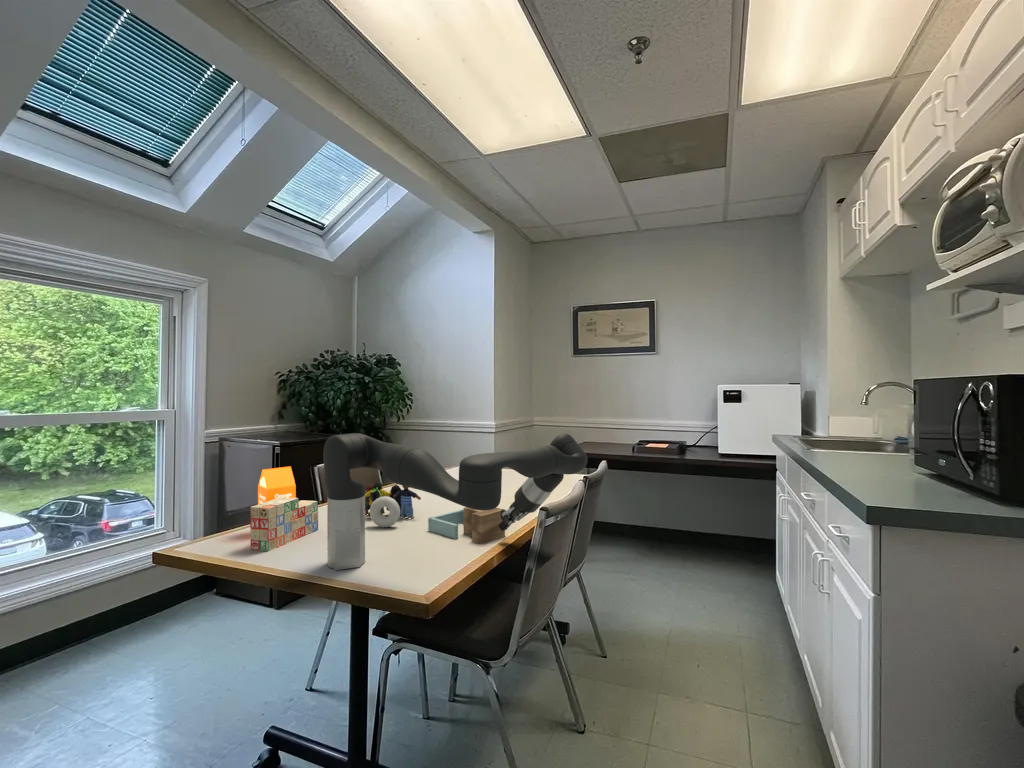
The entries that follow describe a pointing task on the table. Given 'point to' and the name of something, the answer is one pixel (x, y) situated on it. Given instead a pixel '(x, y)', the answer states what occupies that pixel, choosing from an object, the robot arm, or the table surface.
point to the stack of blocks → (281, 522)
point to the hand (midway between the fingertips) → (501, 528)
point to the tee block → (482, 524)
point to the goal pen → (446, 523)
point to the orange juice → (276, 484)
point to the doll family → (396, 493)
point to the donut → (376, 513)
